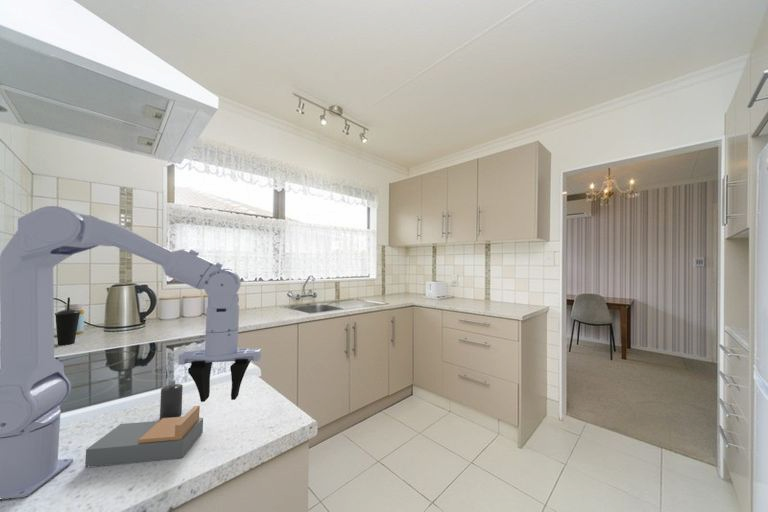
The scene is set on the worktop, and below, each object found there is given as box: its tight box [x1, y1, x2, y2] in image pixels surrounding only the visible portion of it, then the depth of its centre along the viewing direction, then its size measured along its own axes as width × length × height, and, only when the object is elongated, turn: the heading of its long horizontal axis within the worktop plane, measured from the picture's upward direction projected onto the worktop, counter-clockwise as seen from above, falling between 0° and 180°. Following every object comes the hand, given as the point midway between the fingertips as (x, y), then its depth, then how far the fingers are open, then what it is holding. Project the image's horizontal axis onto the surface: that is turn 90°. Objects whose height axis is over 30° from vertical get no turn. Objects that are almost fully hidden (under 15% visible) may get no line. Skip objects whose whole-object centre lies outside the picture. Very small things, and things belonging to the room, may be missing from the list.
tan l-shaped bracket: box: [138, 405, 201, 443], centre depth 54 cm, size 7×7×3 cm
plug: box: [159, 379, 184, 421], centre depth 65 cm, size 4×4×8 cm
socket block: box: [84, 417, 204, 468], centre depth 53 cm, size 15×8×3 cm, turn 100°
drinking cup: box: [54, 297, 81, 346], centre depth 122 cm, size 8×8×20 cm
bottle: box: [64, 302, 85, 335], centre depth 139 cm, size 7×7×15 cm
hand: (220, 398), depth 56 cm, fingers open, 5 cm apart
